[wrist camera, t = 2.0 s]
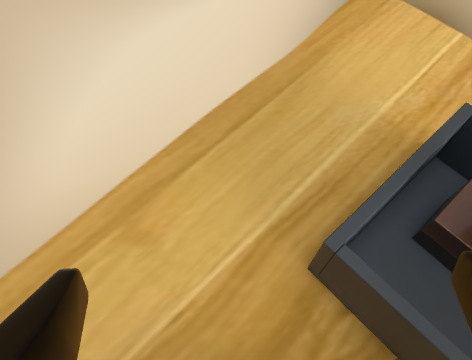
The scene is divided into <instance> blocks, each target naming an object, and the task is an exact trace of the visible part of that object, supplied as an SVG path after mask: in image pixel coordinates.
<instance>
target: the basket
mask: <svg viewBox="0 0 472 360" xmlns="http://www.w3.org/2000/svg"><path fill="white" fill-rule="evenodd" d="M470 179H472V106H471V105H470V104H468V103H465V104H464V105H463V106H462V107H461V108H460V109H459V110H458V111H457V112H456V113H455V114H454V115H453V116H452V117H451V118H450V119H449V120H448V121H447V122H446V123H445V124H444V125H443V126H442V127H440V128H439V129H438V130H437V131H436V132H435V133H434V134H433V135H432V136H431V137H430V138H429V139H428V140H427V141H426V142H425V143H424V144H423V145H422V146H421V147H420V148H419V149H418V150H417V151H416V152H415V153H414V154H413V155H412V156H411V157H410V158H409V159H408V160H407V161H406V162H405V163H404V164H403V165H402V166H401V167H400V168H399V169H398V170H397V171H396V172H395V173H394V174H392V175H391V176H390V177H389V178H388V179H387V180H386V181H385V182H384V183H383V184H382V185H381V186H380V187H379V188H378V189H377V190H376V191H375V192H374V193H373V194H372V195H371V196H370V197H369V198H368V199H367V200H366V201H365V202H364V203H363V204H362V205H361V206H360V207H359V208H358V209H357V210H356V211H355V212H354V213H353V214H352V215H351V216H350V217H349V218H348V219H347V220H346V221H345V222H343V223H342V224H341V225H340V226H339V227H338V228H337V229H336V230H335V231H334V232H333V233H332V234H331V235H330V236H329V237H328V238H327V239H326V240H325V241H324V242H323V244H322V246H321V247H320V249H319V251H318V252H317V254H316V255H315V257H314V259H313V260H312V262H311V264H310V265H309V267H308V269H309V270H310V271H311V272H312V273H313V274H314V275H315V276H316V277H317V278H318V279H319V280H320V281H321V282H322V283H323V284H324V285H325V286H326V287H327V288H328V289H329V290H330V291H331V292H332V293H333V294H334V295H335V296H336V297H337V298H338V299H339V300H340V301H341V302H342V303H343V304H344V305H345V306H346V307H347V308H348V309H349V310H350V311H351V312H352V313H354V314H355V315H356V316H357V317H358V318H359V319H360V320H361V321H362V322H363V323H364V324H365V325H366V326H367V327H368V328H369V329H370V330H371V331H372V332H373V333H374V334H375V335H376V336H377V337H378V338H379V339H380V340H381V341H382V342H383V343H384V344H385V345H386V346H387V347H388V348H389V349H390V350H391V351H392V352H393V353H394V354H395V355H396V356H397V357H398V358H399V359H400V360H472V334H471V331H470V329H469V326H468V324H467V321H466V318H465V316H464V313H463V311H462V308H461V305H460V303H459V300H458V298H457V295H456V292H455V290H454V287H453V284H452V280H451V277H452V272H451V271H450V270H449V269H448V268H447V267H446V266H444V265H443V264H442V263H441V262H440V261H438V260H437V259H436V258H435V257H434V256H432V255H431V254H430V253H429V252H428V251H426V250H425V249H424V248H423V247H422V246H420V245H419V244H418V243H417V242H416V241H414V240H413V239H412V237H413V236H414V235H415V234H416V233H417V232H418V231H419V230H420V228H421V227H422V226H423V225H424V224H425V223H426V222H427V221H428V220H429V219H430V217H431V216H432V215H433V214H434V213H435V212H436V211H437V210H438V209H439V208H440V207H441V205H442V204H443V203H444V202H445V201H446V200H447V199H448V198H450V197H451V196H452V195H453V194H454V193H455V192H457V191H458V190H459V189H460V188H461V187H462V186H464V185H465V184H466V183H467V182H468V181H469V180H470Z"/></svg>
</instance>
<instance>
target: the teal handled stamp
mask: <svg viewBox="0 0 472 360" xmlns="http://www.w3.org/2000/svg"><path fill="white" fill-rule="evenodd" d="M412 239H413V240H414V241H416V242H417V243H418V244H419V245H420V246H422V247H423V248H424V249H425V250H426V251H428V252H429V253H430V254H431V255H432V256H434V257H435V258H436V259H437V260H438V261H440V262H441V263H442V264H443V265H444V266H446V267H447V268H448V269H449V270H450V271H451V272H453V270H454V268H455V265H456V263H457V261H458V259H459V256H460V254H461V253H462V252H464V251H472V179H470V180H469V181H468V182H467V183H466V184H465V185H464V186H462V187H461V188H460V189H459V190H458V191H457V192H455V193H454V194H453V195H452V196H451V197H450V198H448V199H447V200H446V201H445V202H444V203H443V204H442V205H441V207H440V208H439V209H438V210H437V211H436V212H435V213H434V214H433V215H432V216H431V217H430V219H429V220H428V221H427V222H426V223H425V224H424V225H423V226H422V227H421V228H420V230H419V231H418V232H417V233H416V234H415V235H414V236H413V237H412Z"/></svg>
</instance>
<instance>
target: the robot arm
mask: <svg viewBox="0 0 472 360" xmlns="http://www.w3.org/2000/svg"><path fill="white" fill-rule="evenodd" d="M451 280H452V284H453V287H454V290H455V292H456V295H457V298H458V300H459V303H460V305H461V308H462V311H463V313H464V316H465V318H466V321H467V324H468V326H469V329H470V331H471V334H472V251H464V252H462V253H461V254H460V256H459V259H458V261H457V263H456V265H455V268H454V270H453V272H452V277H451ZM87 304H88V290H87V288H86V285H85V282H84V280H83V277H82V275H81V272H80V271H79V270H78V269H76V268H72V269H61V270H59V271H57V272H56V273H55V274H54V275H53V276H52V277H51V278H49V279H48V280H47V281H46V282H45V283H44V284H43V285H42V286H41V287H40V288H39V289H37V290H36V291H35V292H34V293H33V294H32V295H31V296H30V297H29V298H28V299H27V300H26V301H24V302H23V303H22V304H21V305H20V306H19V307H18V308H17V309H16V310H15V311H14V312H13V313H11V314H10V315H9V316H8V317H7V318H6V319H5V320H4V321H3V322H2V323H1V324H0V360H77V357H78V352H79V347H80V341H81V336H82V331H83V325H84V320H85V315H86V309H87Z"/></svg>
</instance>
